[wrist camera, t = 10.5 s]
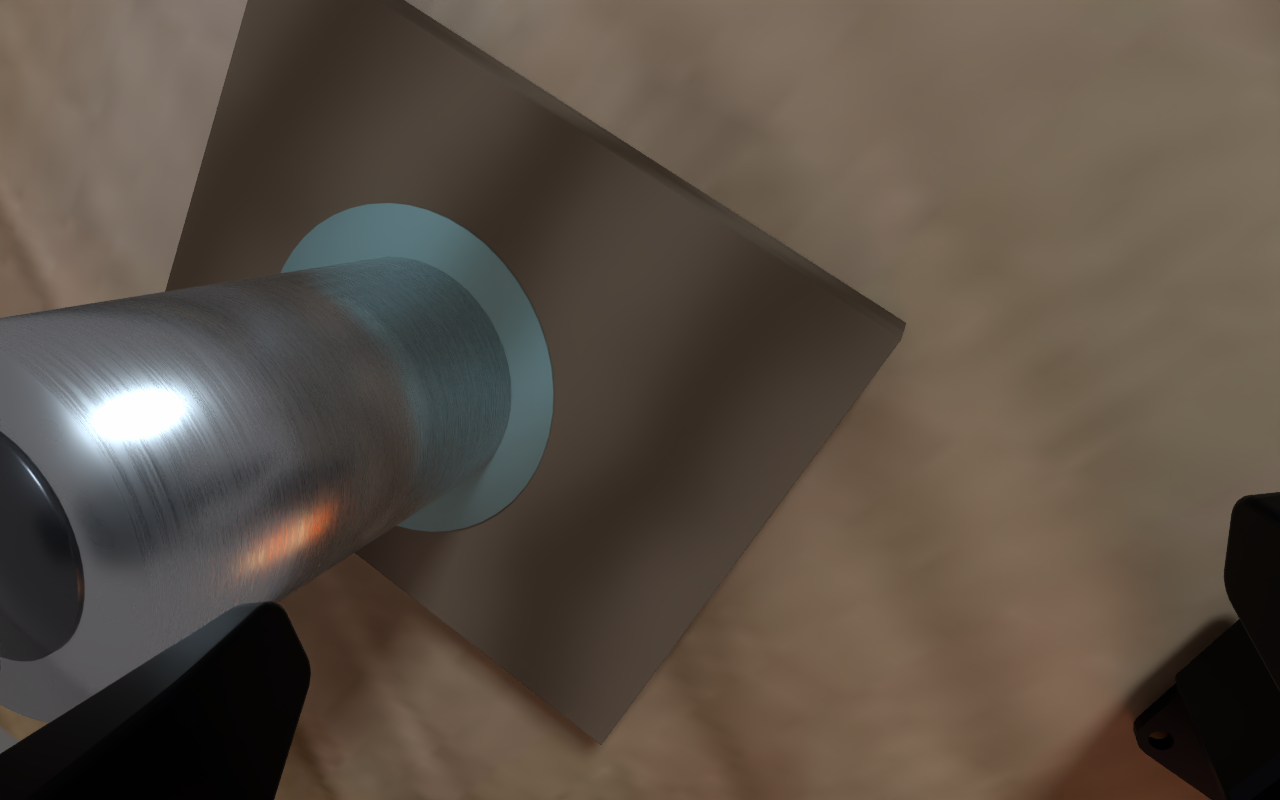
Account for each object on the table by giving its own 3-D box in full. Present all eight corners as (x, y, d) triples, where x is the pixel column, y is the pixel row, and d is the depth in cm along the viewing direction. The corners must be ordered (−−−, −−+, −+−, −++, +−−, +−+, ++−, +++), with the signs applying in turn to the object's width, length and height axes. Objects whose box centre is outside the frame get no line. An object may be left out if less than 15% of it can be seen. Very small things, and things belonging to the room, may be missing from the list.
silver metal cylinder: (558, 403, 21) (209, 612, 11) (410, 531, 23) (27, 787, 14) (399, 204, 21) (-85, 237, 11) (271, 355, 23) (-206, 486, 14)
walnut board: (905, 323, 19) (900, 340, 17) (626, 702, 25) (599, 747, 23) (324, -51, 22) (265, -71, 20) (192, 369, 28) (135, 384, 26)
